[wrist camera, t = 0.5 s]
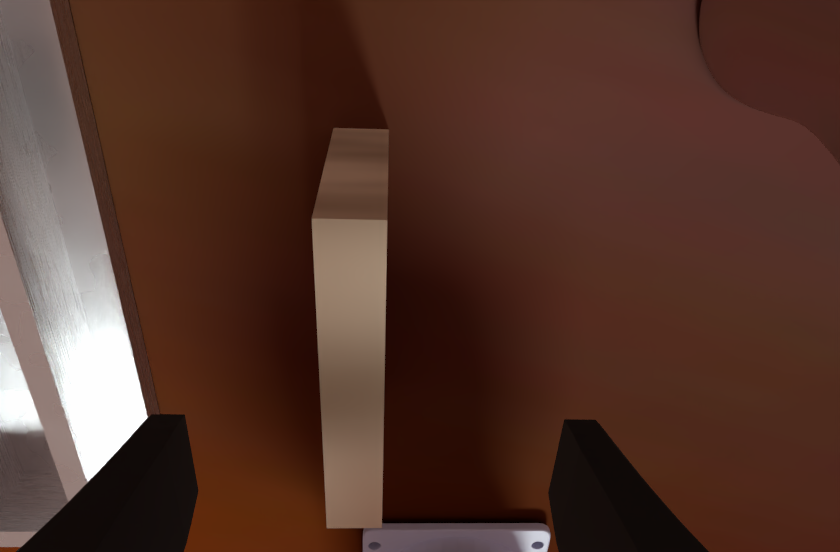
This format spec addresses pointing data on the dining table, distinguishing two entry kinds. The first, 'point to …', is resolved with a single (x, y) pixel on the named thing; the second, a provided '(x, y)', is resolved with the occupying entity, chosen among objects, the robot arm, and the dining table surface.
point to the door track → (58, 280)
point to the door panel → (352, 322)
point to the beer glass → (778, 59)
